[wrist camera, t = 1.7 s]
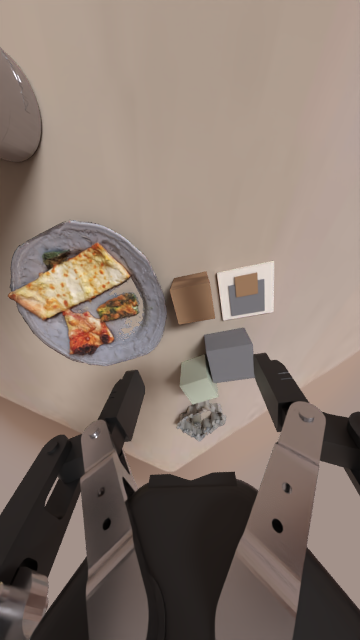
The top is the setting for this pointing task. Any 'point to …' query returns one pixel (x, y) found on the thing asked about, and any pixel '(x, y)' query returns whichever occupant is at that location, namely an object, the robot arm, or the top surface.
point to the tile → (247, 290)
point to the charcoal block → (230, 355)
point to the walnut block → (192, 298)
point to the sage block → (198, 380)
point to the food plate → (87, 293)
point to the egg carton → (194, 425)
